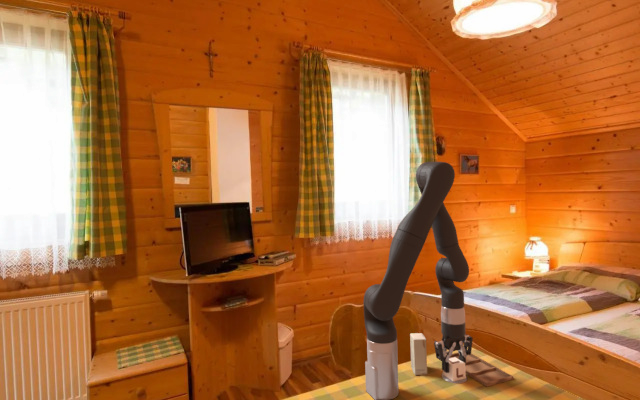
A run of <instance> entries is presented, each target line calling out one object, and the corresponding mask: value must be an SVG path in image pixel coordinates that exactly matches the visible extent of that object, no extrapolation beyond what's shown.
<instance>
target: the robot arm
mask: <svg viewBox="0 0 640 400" xmlns="http://www.w3.org/2000/svg"><path fill="white" fill-rule="evenodd" d="M455 175H456V174H455V169H454V167H453V166H452V165H451V164H450V163H449V162H446V161H425V162H422V163H421V164H419V166H418V168H416V171H415V181H416V184H417V186H418V189H419V191H420V194H421V196H420V198H419V200H418V201H417V203H416V204H415V205H414V206H413V208H412V209H411V210H410V211H408V213H407V214H406V215H405V216H404V217H403V218H402V220H401V221H400V223H399V224H398V226H397V229H396V231H395V233H394V234H393V238H392V240H391V244H390V247H389V254H388V262H387V267H386V271H385V274H384V277H383V279H382V281H381V283H375V284H372V285H370V286H369V287H368V288H367V289H366V290H365V292H364V295H363V317H364V327H365V331H366V353H367V354H366V355H367V360H365V362H364V365H365V367H364V368H365V369H364V370H365V371H364V372H365V374H364V375H365V391H366V392H367V394H368V395H369V396H370V397H372V398H373V399H374V400H393V399H395V398H396V397H397V396H398V395H399V367H398V366H399V365H398V364H399V363H398V362H399V361H398V333H397V332H398V331H397V328H396V324H395V322H394V317H395V316H396V315H397V314H398V312H399V310H400V306H401V304H402V300H403V297H404V294H405V290H406V288H407V285H408V282H409V279H410V276H411V275H412V272H413V270H414V267H415V265H416V263H417V261H418V258H419V256H420V255H421V252H422V250H423V248H424V245H425V243H426V240H427V238H428V235H429V233H430V231H431V229H432V234H433V237H434V243H435V248H436V250H437V252H438V254H440V255H442V256H444V257H442V258H440V259H438V260H437V262H436V264H435V277H436V280H437V284H438V288H439V290H440V293H441V298H440V299H441V300H440V301H441V309H440V326H441V329H440V330H441V335H442V338H441V340H440V341H437V340H434V342H433V347H434V350H435V357H436V359H437V360H439V361H441V369H442V372H443V371H444V372H446V373H449V362H448V361H449V358H450V356H451V355H452V354H453V353H455V351H457V353H459V355H460V356H459V360H461V361H463V362H464V363H465V367H466V357H467V355H471V354H472V348H473V340H474V339H473V337H472V336H471V335H469V334H466V311H465V294H464V290H463V288H460V287H458V286H457V285H456V284H455V282H456V283H464V282H465V281H466V280H467V279H468V277H469V274H470V267H469V264H468V261H467V259H466V256H465V255H464V253H463V251H462V248H461V247H460V244H459V240H458V233H457V230H456V226H455V225H456V224H455V223H454V221H453V219H452V217H451V215H450V213H449V211H448V209H447V207H446V205H445V204H444V201H445V200H446V198H447V196H448V194H449V193H450V191H451V190H452V187H453V184H454V182H455ZM445 356H446V357H445Z"/></svg>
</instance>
